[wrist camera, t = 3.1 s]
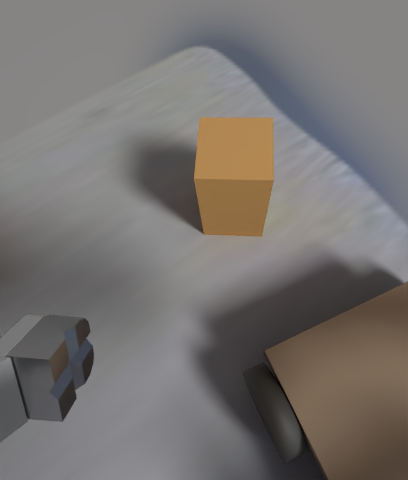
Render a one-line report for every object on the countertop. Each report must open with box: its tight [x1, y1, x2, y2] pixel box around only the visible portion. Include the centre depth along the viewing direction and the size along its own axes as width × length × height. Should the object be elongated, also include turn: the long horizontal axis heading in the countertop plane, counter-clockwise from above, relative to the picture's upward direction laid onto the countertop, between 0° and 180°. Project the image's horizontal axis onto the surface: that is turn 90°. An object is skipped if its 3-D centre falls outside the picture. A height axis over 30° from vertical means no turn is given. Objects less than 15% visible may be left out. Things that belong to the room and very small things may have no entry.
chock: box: [194, 118, 274, 236], centre depth 24 cm, size 5×5×8 cm
